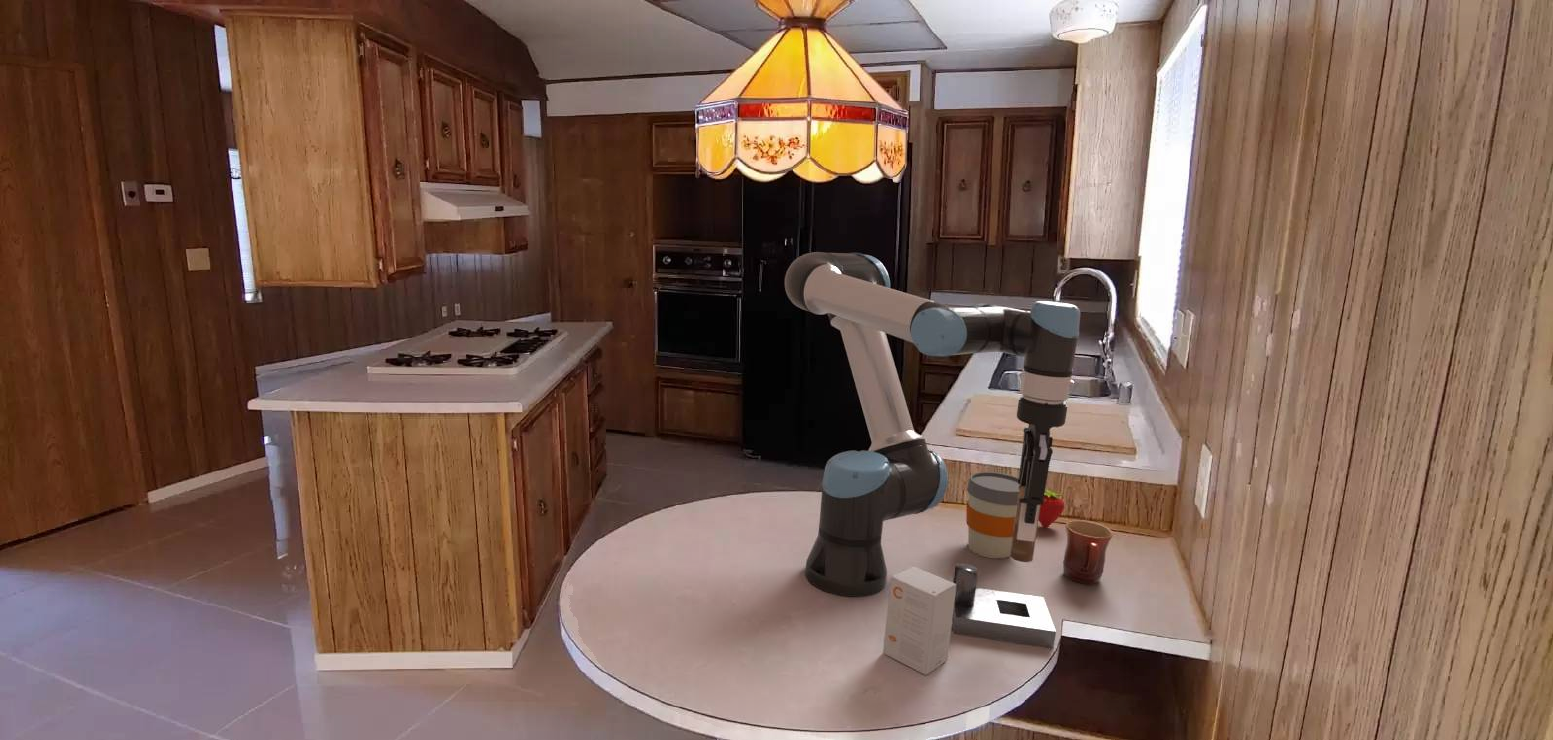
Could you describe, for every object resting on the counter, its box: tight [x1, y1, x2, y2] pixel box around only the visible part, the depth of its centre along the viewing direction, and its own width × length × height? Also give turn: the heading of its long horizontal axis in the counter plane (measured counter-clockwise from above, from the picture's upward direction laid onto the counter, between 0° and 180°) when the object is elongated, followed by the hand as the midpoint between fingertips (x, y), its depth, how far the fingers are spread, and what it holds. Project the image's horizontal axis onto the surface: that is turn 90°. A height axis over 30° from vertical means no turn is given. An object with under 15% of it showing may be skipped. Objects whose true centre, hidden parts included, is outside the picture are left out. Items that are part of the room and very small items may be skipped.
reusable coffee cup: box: [965, 471, 1020, 559], centre depth 166 cm, size 12×13×15 cm
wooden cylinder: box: [1010, 486, 1041, 563], centre depth 132 cm, size 4×4×12 cm
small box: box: [882, 566, 956, 676], centre depth 123 cm, size 8×6×13 cm
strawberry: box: [1038, 484, 1065, 528], centre depth 181 cm, size 6×8×10 cm
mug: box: [1062, 519, 1114, 585], centre depth 155 cm, size 12×9×10 cm
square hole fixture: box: [952, 563, 1057, 649], centre depth 136 cm, size 16×12×9 cm
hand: (1023, 535), depth 133 cm, fingers closed on wooden cylinder, 3 cm apart
